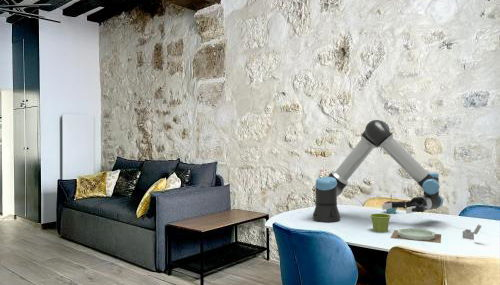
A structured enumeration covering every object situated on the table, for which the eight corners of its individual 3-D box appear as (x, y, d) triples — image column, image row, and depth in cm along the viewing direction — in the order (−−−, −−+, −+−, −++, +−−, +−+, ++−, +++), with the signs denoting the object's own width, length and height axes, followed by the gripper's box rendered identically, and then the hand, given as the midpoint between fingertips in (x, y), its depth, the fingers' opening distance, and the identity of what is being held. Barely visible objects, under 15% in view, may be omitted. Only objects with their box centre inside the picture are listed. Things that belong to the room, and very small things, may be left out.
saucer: (396, 238, 169) (396, 234, 169) (400, 230, 182) (400, 227, 182) (434, 242, 162) (434, 237, 162) (435, 234, 175) (435, 230, 175)
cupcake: (399, 214, 229) (399, 194, 229) (384, 213, 230) (384, 193, 230) (397, 211, 237) (396, 192, 237) (382, 211, 239) (382, 191, 239)
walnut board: (390, 241, 170) (390, 237, 170) (394, 233, 184) (394, 230, 184) (440, 246, 160) (440, 243, 160) (441, 237, 175) (441, 234, 175)
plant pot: (380, 236, 178) (380, 218, 177) (366, 232, 186) (365, 214, 186) (395, 234, 182) (395, 216, 182) (380, 230, 190) (380, 212, 190)
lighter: (462, 241, 168) (462, 223, 168) (463, 240, 170) (463, 222, 169) (481, 244, 164) (481, 225, 164) (481, 243, 165) (481, 224, 165)
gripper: (443, 214, 190) (417, 220, 178) (399, 208, 211) (374, 212, 199) (443, 199, 190) (417, 204, 178) (399, 194, 211) (373, 198, 199)
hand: (394, 208), depth 189 cm, fingers open, 13 cm apart
